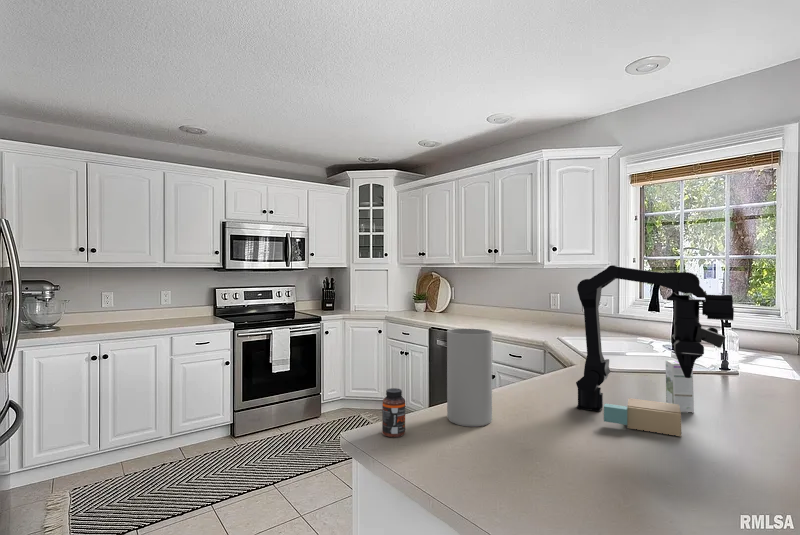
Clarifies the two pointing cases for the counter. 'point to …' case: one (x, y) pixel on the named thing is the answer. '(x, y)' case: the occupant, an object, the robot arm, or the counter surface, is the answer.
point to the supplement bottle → (393, 413)
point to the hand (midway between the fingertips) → (685, 374)
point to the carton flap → (644, 419)
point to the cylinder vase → (469, 377)
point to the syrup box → (679, 387)
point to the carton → (654, 405)
